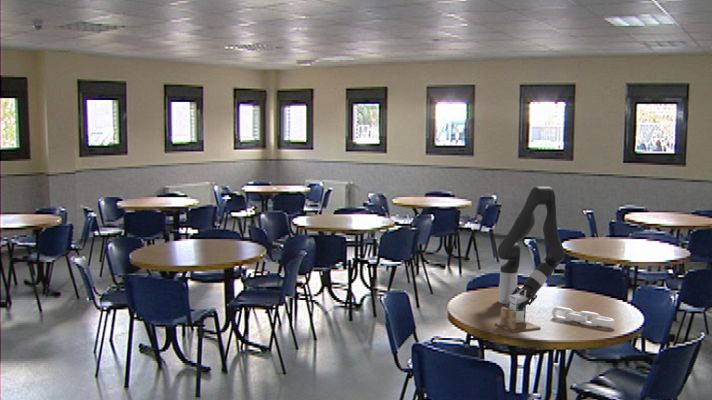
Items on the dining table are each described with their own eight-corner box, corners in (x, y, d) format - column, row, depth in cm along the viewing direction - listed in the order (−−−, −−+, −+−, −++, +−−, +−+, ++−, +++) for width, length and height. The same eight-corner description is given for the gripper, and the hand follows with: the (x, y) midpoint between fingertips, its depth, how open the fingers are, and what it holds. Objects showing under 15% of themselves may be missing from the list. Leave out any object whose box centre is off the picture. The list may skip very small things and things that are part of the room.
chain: (550, 319, 348) (550, 307, 347) (554, 316, 353) (555, 304, 352) (611, 330, 330) (612, 318, 330) (615, 327, 335) (616, 315, 335)
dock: (495, 324, 336) (495, 306, 335) (522, 321, 342) (523, 303, 341) (512, 332, 323) (513, 313, 322) (540, 329, 329) (541, 310, 328)
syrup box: (514, 327, 328) (516, 297, 327) (508, 323, 334) (509, 294, 332) (525, 326, 330) (526, 296, 328) (518, 322, 336) (520, 293, 334)
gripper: (521, 273, 339) (500, 298, 335) (540, 279, 326) (519, 306, 322) (530, 283, 342) (509, 308, 338) (549, 289, 329) (527, 316, 325)
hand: (514, 307), depth 330 cm, fingers open, 7 cm apart
